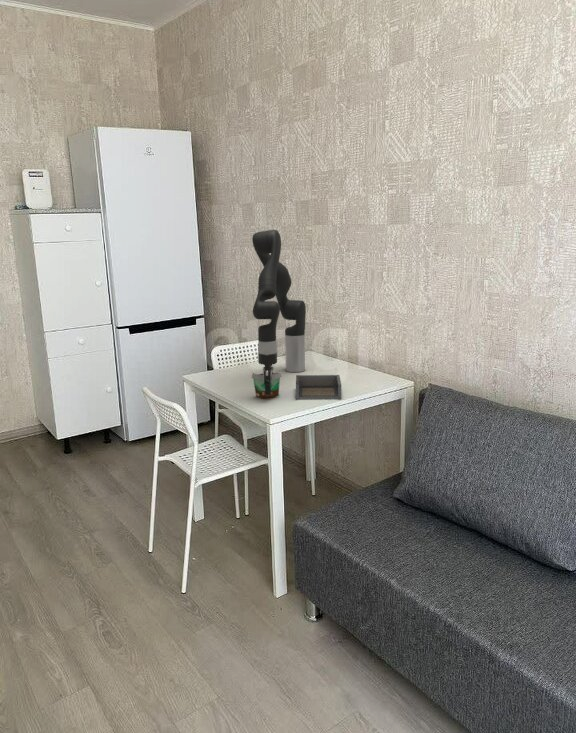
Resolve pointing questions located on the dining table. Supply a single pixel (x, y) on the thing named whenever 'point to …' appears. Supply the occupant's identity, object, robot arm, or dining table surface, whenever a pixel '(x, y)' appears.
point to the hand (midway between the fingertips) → (268, 391)
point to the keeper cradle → (318, 387)
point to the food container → (261, 387)
